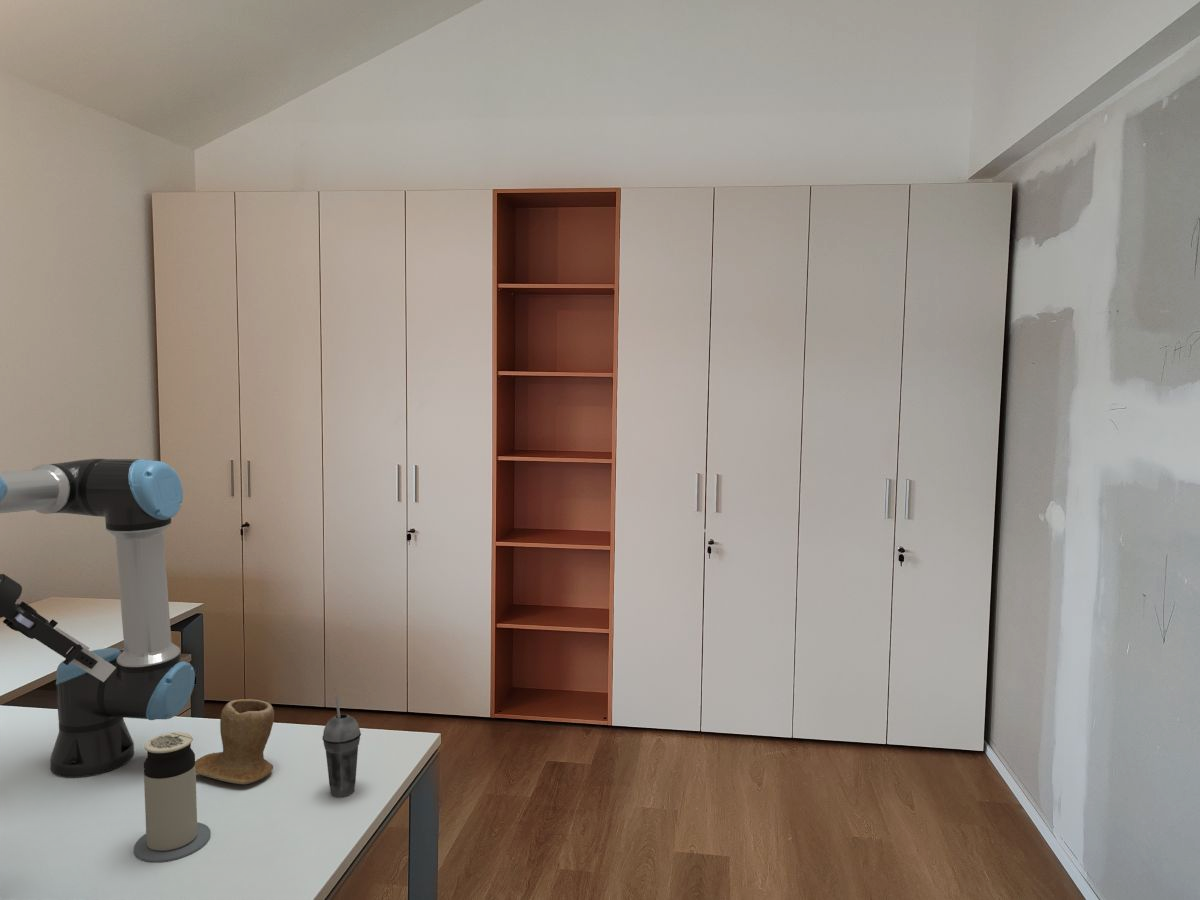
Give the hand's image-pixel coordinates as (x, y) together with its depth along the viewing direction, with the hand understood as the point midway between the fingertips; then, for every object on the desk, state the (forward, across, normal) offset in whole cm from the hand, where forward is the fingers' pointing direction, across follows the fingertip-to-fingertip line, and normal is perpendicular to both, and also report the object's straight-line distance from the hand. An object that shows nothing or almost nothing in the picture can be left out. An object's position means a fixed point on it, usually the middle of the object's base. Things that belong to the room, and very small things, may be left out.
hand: (96, 664), depth 139 cm
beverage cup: (+52, +9, +4) cm, 53 cm away
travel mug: (+30, +4, -17) cm, 35 cm away
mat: (+31, +4, -17) cm, 35 cm away
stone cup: (+44, -13, -4) cm, 46 cm away
